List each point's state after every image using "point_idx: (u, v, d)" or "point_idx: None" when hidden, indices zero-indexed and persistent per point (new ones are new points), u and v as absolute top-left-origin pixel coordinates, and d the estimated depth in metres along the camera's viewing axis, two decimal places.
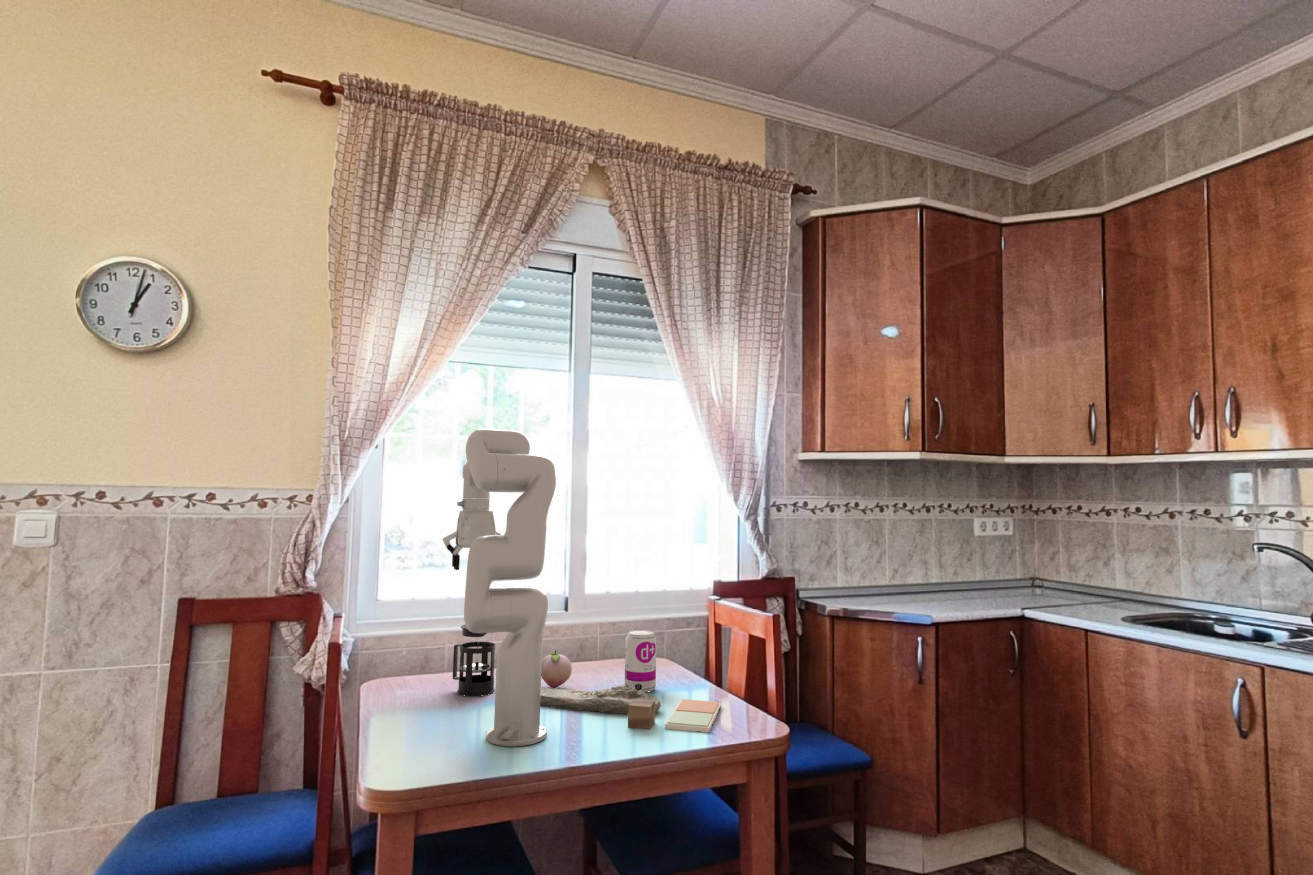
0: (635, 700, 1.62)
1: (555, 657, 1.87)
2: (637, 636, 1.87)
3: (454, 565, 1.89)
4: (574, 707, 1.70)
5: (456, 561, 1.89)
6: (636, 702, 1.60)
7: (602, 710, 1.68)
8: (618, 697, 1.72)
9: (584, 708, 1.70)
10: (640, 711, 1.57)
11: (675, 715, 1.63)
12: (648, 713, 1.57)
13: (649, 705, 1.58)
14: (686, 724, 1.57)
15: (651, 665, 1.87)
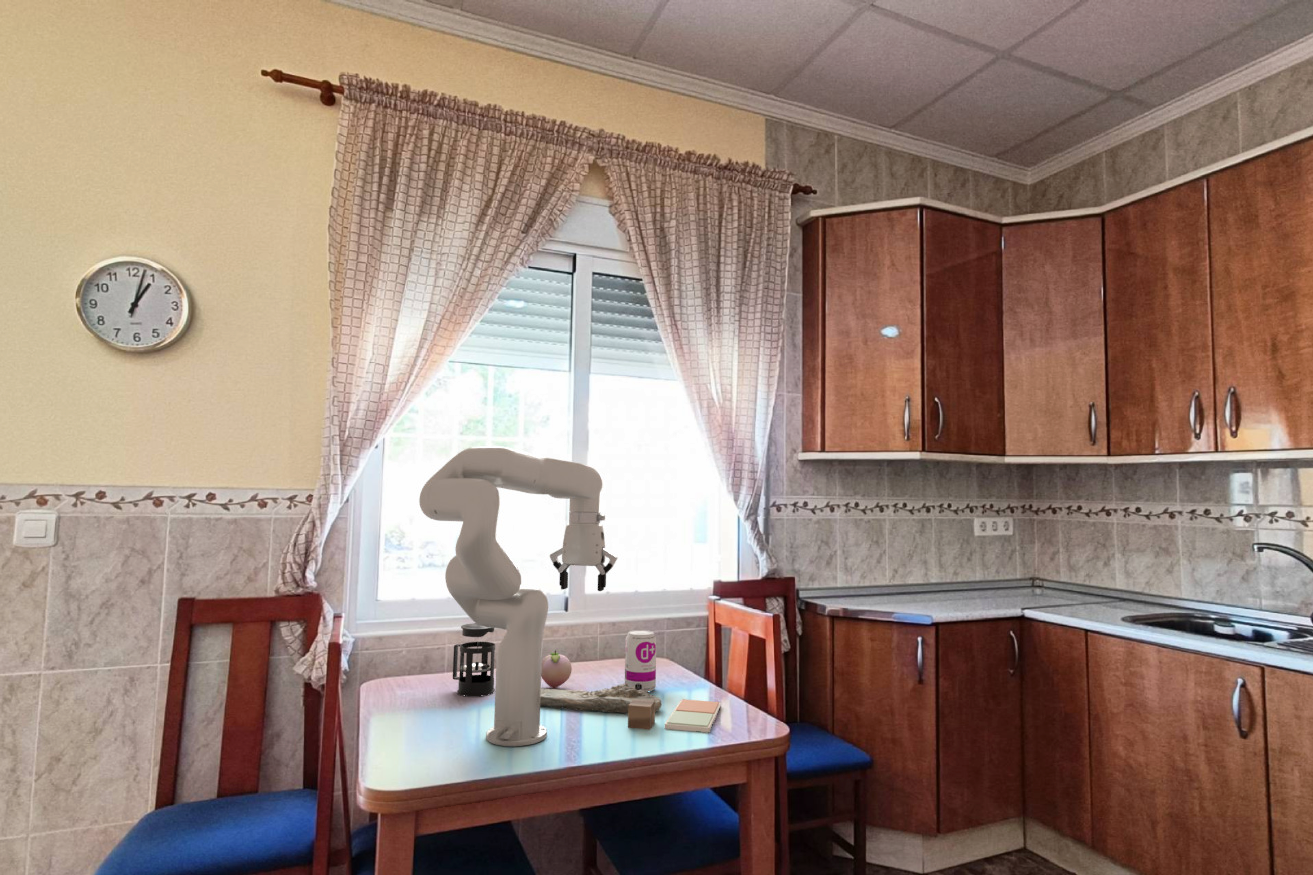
0: (635, 700, 1.62)
1: (555, 657, 1.87)
2: (637, 636, 1.87)
3: None
4: (575, 707, 1.70)
5: None
6: (636, 702, 1.60)
7: (604, 710, 1.69)
8: (619, 696, 1.72)
9: (585, 708, 1.69)
10: (640, 711, 1.57)
11: (675, 715, 1.63)
12: (648, 713, 1.57)
13: (649, 705, 1.58)
14: (686, 724, 1.57)
15: (651, 665, 1.87)
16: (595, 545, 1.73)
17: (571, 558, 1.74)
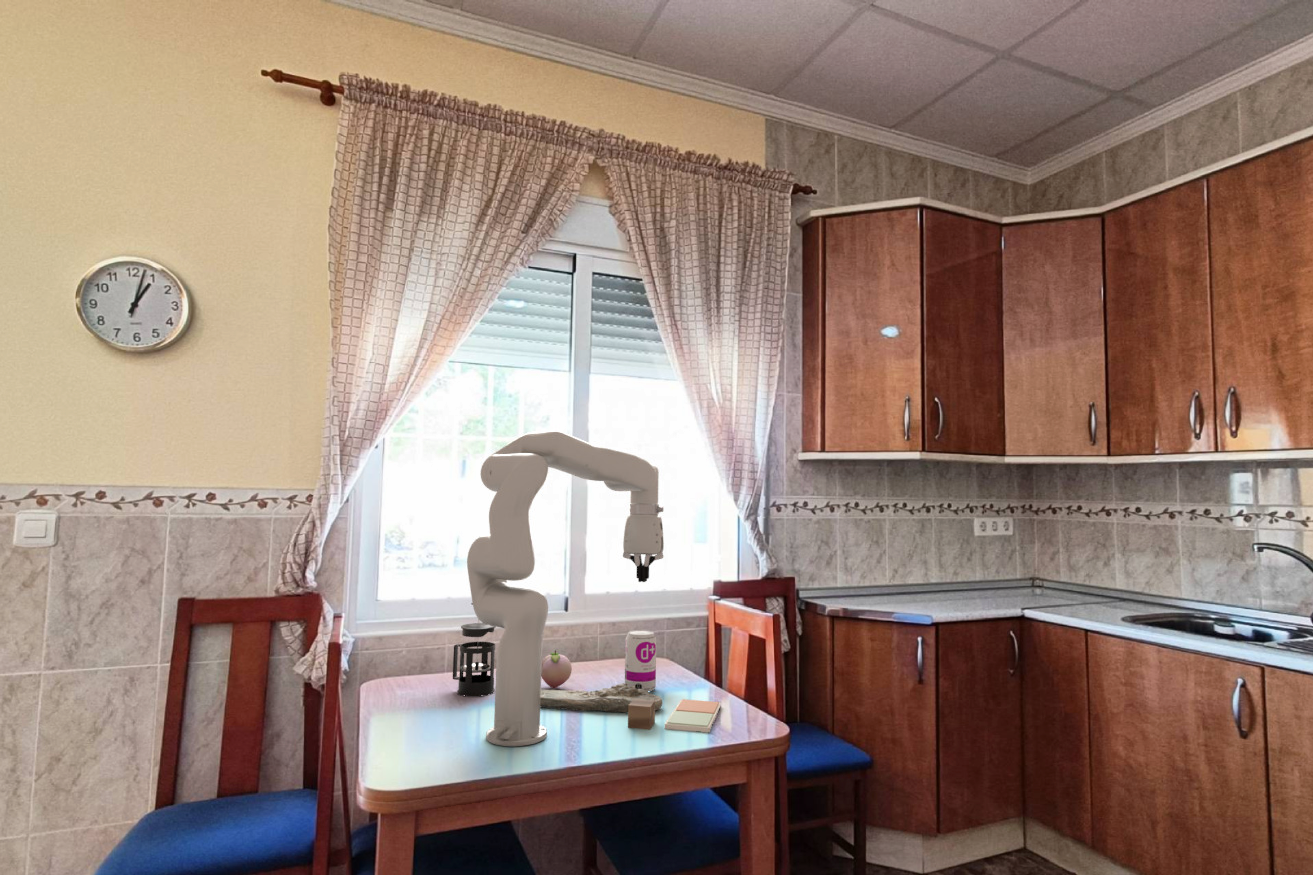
0: (635, 700, 1.62)
1: (555, 657, 1.87)
2: (637, 636, 1.87)
3: None
4: (576, 708, 1.70)
5: None
6: (636, 702, 1.60)
7: (606, 709, 1.69)
8: (620, 696, 1.73)
9: (587, 708, 1.69)
10: (640, 711, 1.57)
11: (675, 715, 1.63)
12: (648, 713, 1.57)
13: (649, 705, 1.58)
14: (686, 724, 1.57)
15: (651, 665, 1.87)
16: (655, 535, 1.84)
17: (632, 547, 1.85)
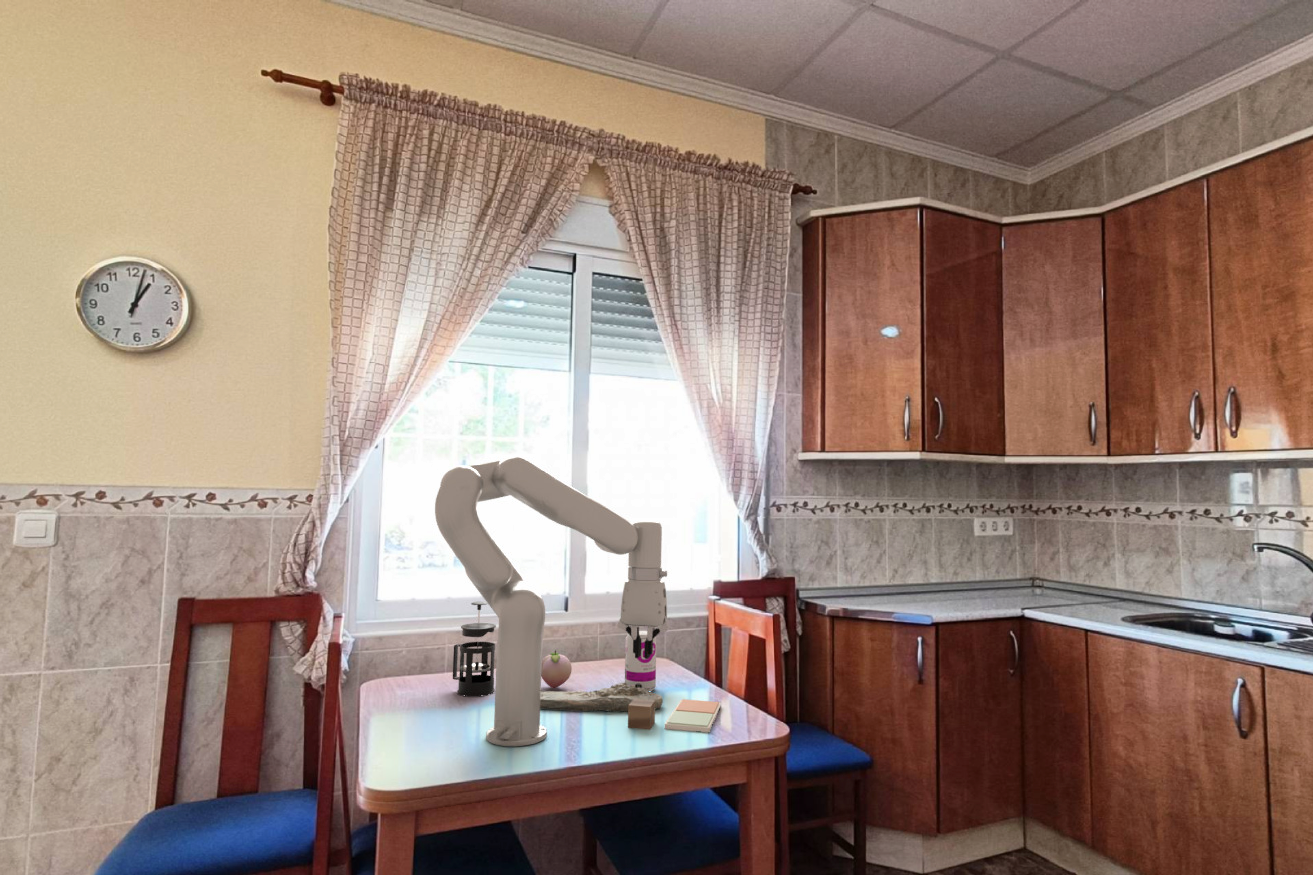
0: (635, 700, 1.62)
1: (555, 657, 1.87)
2: None
3: None
4: (578, 708, 1.70)
5: None
6: (636, 702, 1.60)
7: (608, 709, 1.69)
8: (620, 695, 1.73)
9: (589, 708, 1.69)
10: (640, 711, 1.57)
11: (675, 715, 1.63)
12: (648, 713, 1.57)
13: (649, 705, 1.58)
14: (686, 724, 1.57)
15: (651, 665, 1.87)
16: (657, 604, 1.59)
17: (631, 618, 1.60)
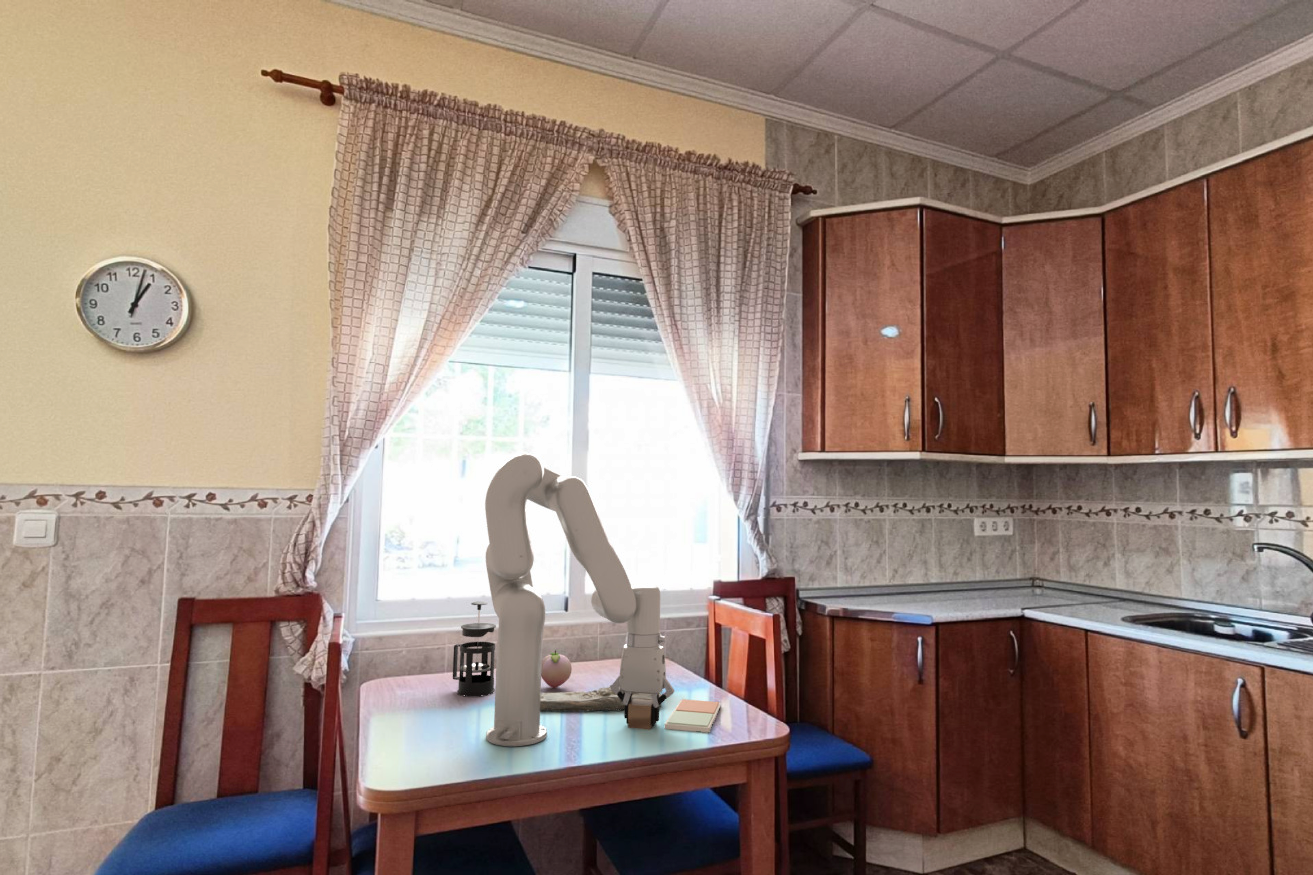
0: (635, 700, 1.62)
1: (555, 657, 1.87)
2: None
3: None
4: (581, 709, 1.69)
5: None
6: (636, 702, 1.60)
7: (611, 708, 1.70)
8: None
9: (592, 708, 1.69)
10: (640, 711, 1.57)
11: (675, 715, 1.63)
12: (648, 713, 1.57)
13: (649, 705, 1.58)
14: (686, 724, 1.57)
15: None
16: (656, 671, 1.58)
17: (630, 685, 1.59)
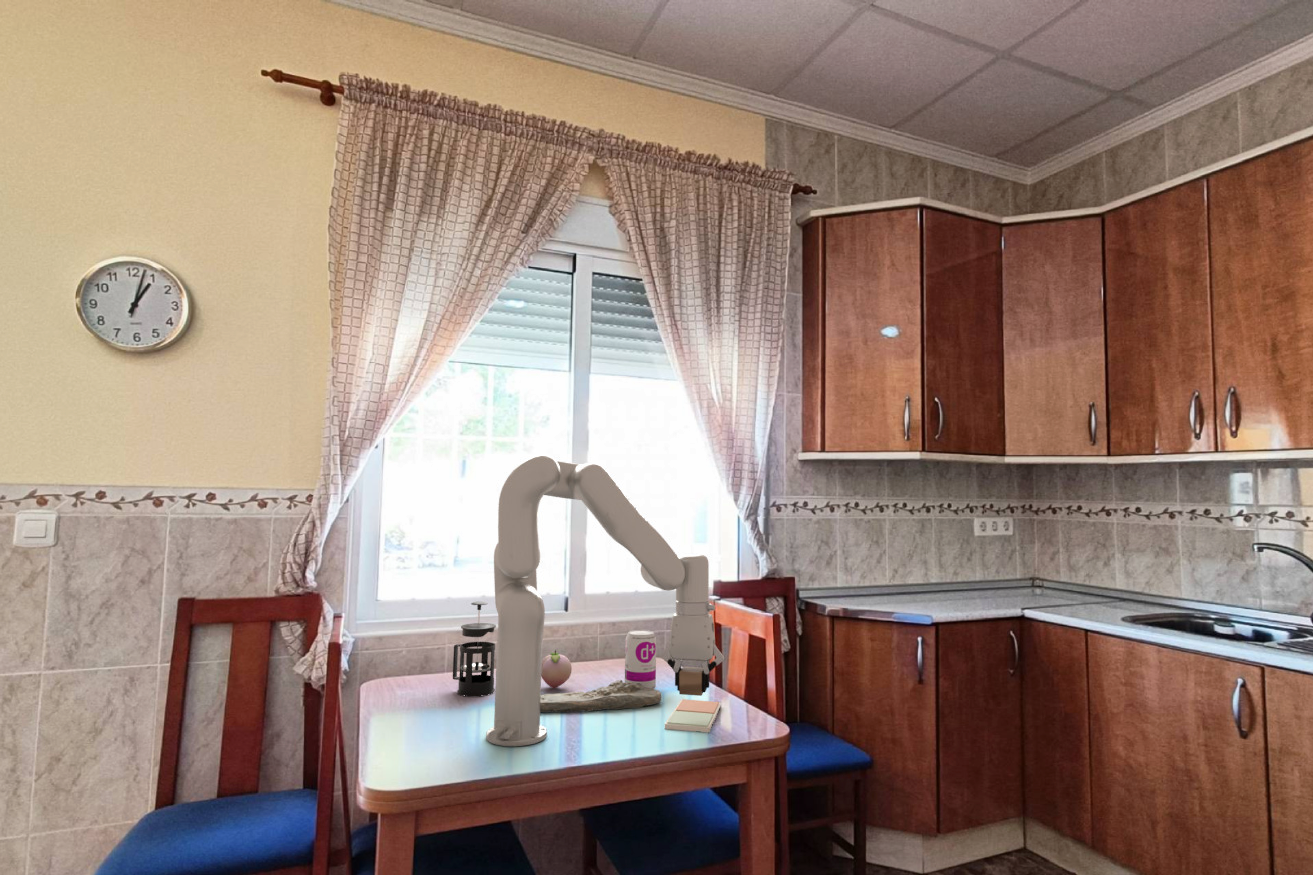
0: (685, 667, 1.64)
1: (555, 657, 1.87)
2: (637, 636, 1.87)
3: None
4: (583, 709, 1.69)
5: None
6: (686, 669, 1.62)
7: (613, 707, 1.71)
8: (621, 693, 1.75)
9: (594, 708, 1.70)
10: (691, 677, 1.60)
11: (675, 715, 1.63)
12: (699, 679, 1.59)
13: (700, 671, 1.60)
14: (686, 724, 1.57)
15: (651, 665, 1.87)
16: (706, 638, 1.60)
17: (680, 652, 1.61)
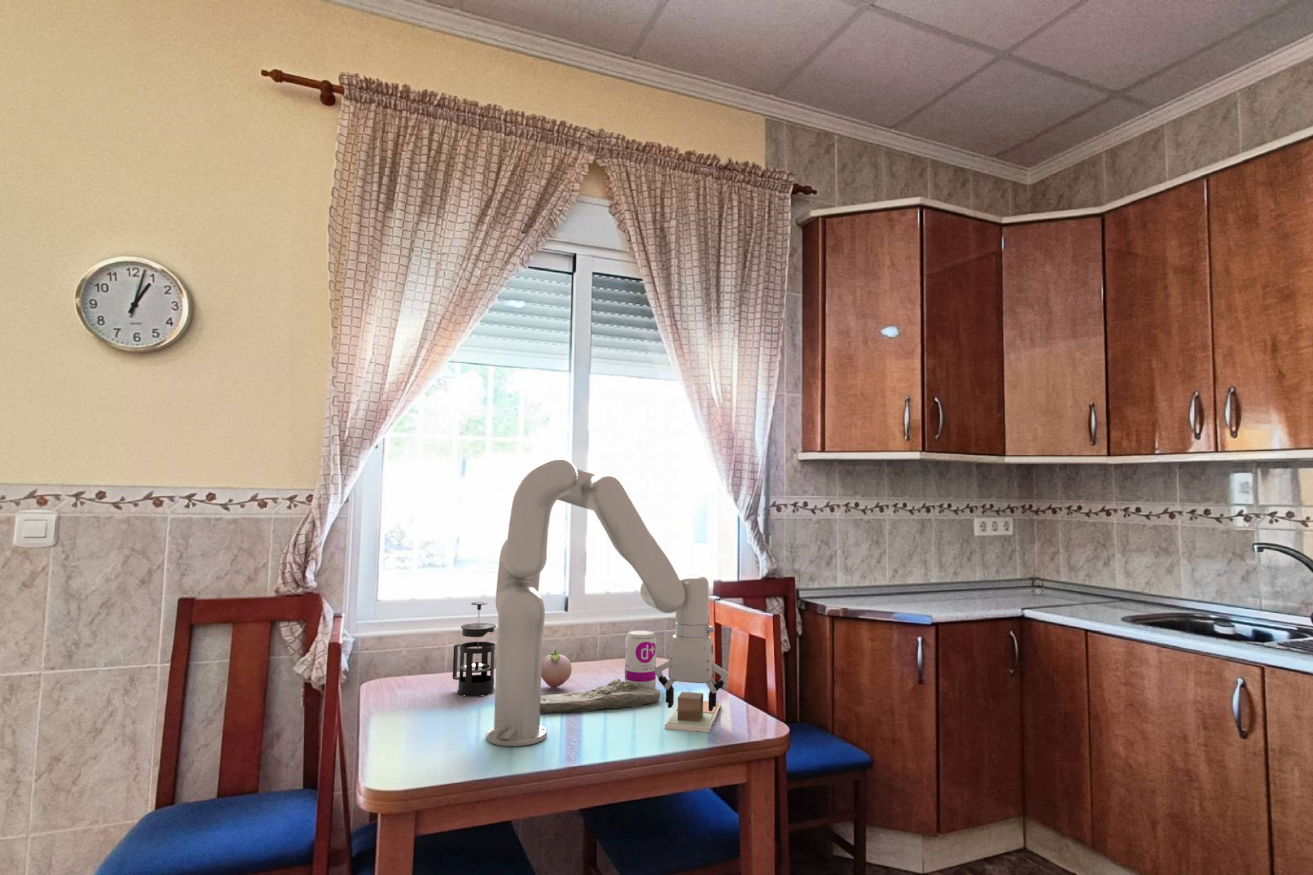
0: (683, 692, 1.64)
1: (555, 657, 1.87)
2: (637, 636, 1.87)
3: None
4: (585, 708, 1.69)
5: None
6: (685, 695, 1.62)
7: (614, 706, 1.71)
8: (620, 691, 1.76)
9: (596, 707, 1.70)
10: (690, 703, 1.59)
11: (675, 715, 1.63)
12: (698, 705, 1.59)
13: (698, 697, 1.60)
14: (686, 724, 1.57)
15: (651, 665, 1.87)
16: (706, 661, 1.60)
17: (679, 674, 1.61)
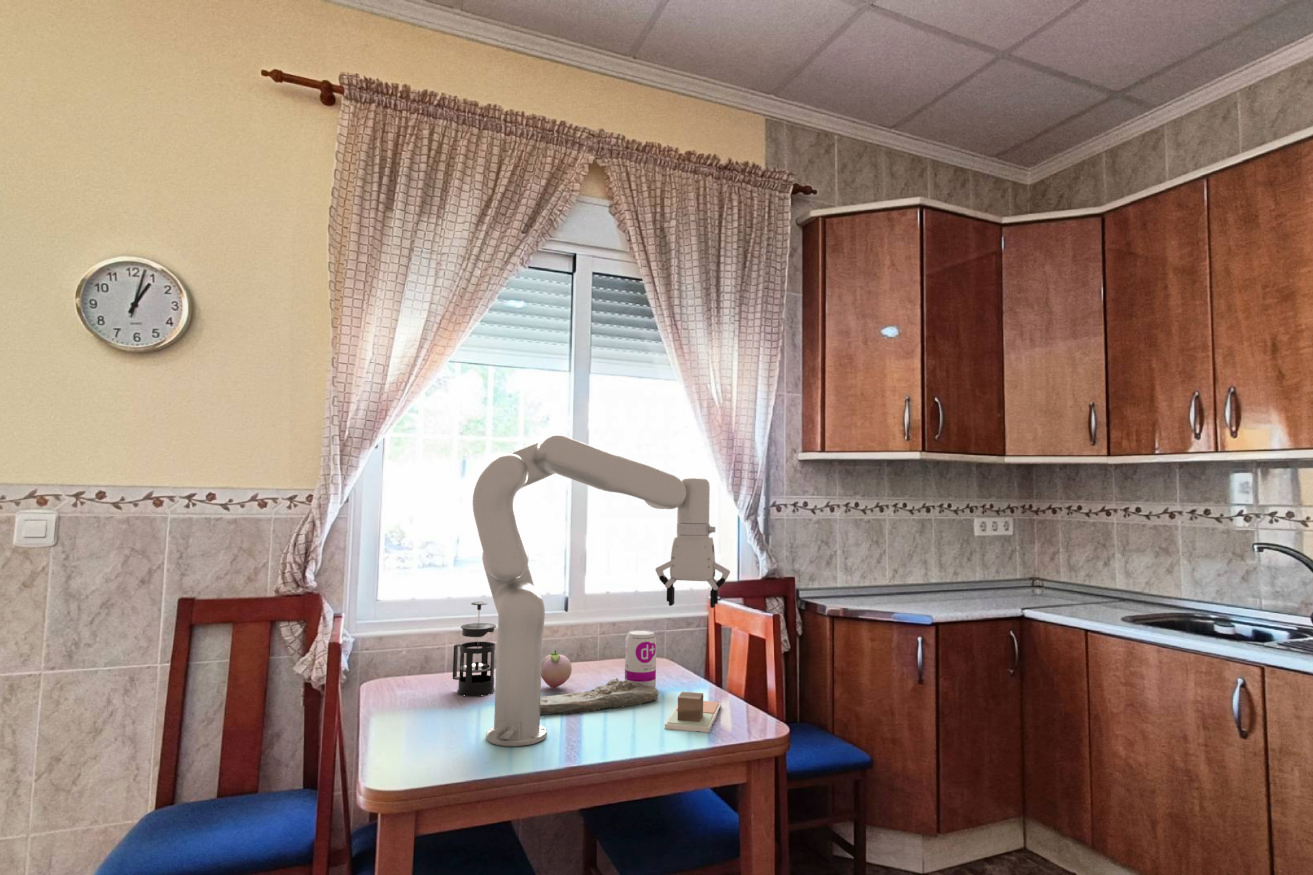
0: (683, 692, 1.64)
1: (555, 657, 1.87)
2: (637, 636, 1.87)
3: None
4: (587, 709, 1.69)
5: None
6: (685, 695, 1.62)
7: (616, 705, 1.72)
8: (620, 691, 1.77)
9: (598, 707, 1.70)
10: (690, 703, 1.59)
11: (675, 715, 1.63)
12: (698, 705, 1.59)
13: (698, 697, 1.60)
14: (686, 724, 1.57)
15: (651, 665, 1.87)
16: (707, 559, 1.62)
17: (680, 573, 1.63)
